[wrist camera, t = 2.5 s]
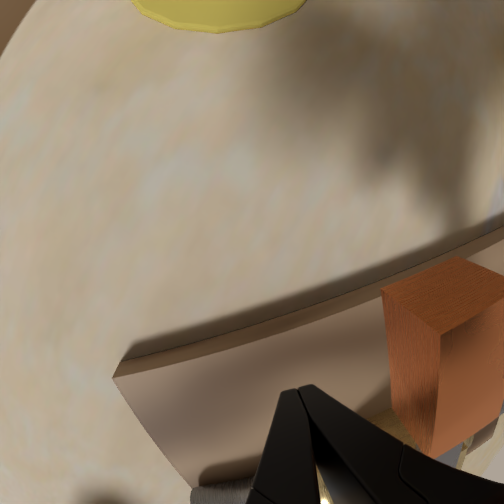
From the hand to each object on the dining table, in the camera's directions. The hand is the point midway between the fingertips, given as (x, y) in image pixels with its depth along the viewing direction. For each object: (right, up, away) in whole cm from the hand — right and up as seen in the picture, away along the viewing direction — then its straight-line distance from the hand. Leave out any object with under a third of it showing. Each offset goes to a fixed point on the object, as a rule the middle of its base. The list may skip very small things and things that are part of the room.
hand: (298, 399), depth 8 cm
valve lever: (+5, -3, +2) cm, 7 cm away
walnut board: (+6, -7, +10) cm, 14 cm away
